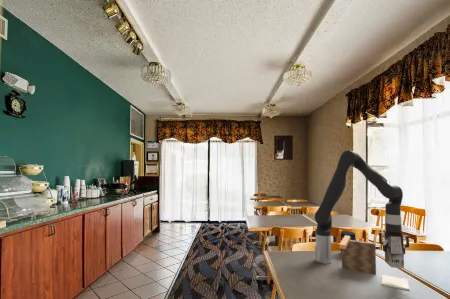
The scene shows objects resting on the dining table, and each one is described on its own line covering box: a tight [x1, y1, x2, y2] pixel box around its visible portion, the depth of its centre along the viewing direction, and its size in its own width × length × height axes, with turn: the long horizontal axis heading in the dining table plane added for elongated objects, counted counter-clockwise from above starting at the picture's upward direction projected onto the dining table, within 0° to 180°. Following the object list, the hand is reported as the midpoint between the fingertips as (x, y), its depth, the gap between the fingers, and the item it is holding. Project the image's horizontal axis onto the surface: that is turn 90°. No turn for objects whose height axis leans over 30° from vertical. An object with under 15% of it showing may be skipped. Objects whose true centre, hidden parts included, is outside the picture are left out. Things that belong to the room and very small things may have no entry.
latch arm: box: [338, 235, 350, 250], centre depth 157 cm, size 3×24×2 cm, turn 150°
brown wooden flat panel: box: [341, 240, 377, 276], centre depth 162 cm, size 18×3×17 cm, turn 60°
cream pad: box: [381, 274, 410, 291], centre depth 145 cm, size 12×14×1 cm
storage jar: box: [340, 230, 357, 255], centre depth 193 cm, size 10×10×15 cm
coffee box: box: [383, 235, 405, 269], centre depth 146 cm, size 9×6×16 cm
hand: (394, 253), depth 146 cm, fingers closed on coffee box, 7 cm apart
